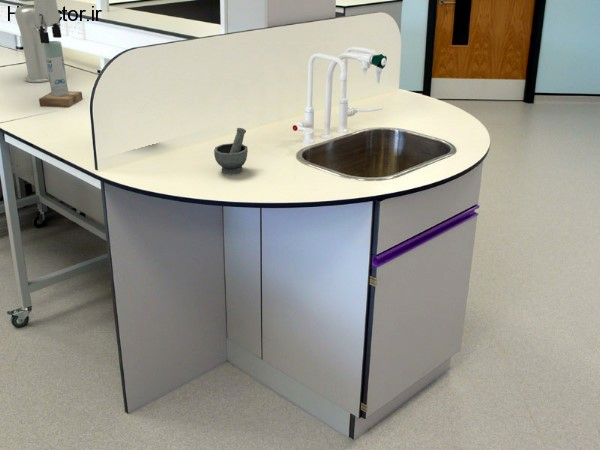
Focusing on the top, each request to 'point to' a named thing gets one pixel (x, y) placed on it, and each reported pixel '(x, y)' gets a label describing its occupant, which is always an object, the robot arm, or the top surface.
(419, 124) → the top surface
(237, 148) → the mortar and pestle
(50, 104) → the square brown tray
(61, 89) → the pale blue bottle
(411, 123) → the top surface
